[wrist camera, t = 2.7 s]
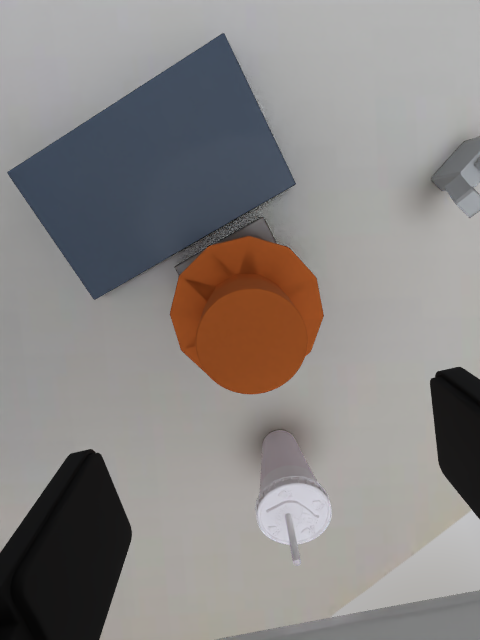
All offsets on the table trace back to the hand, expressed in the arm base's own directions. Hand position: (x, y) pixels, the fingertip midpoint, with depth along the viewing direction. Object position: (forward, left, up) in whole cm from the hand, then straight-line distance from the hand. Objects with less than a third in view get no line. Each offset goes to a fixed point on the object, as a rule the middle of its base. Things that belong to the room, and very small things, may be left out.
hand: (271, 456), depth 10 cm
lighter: (+20, 0, -26) cm, 33 cm away
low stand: (-2, +12, -25) cm, 28 cm away
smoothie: (-5, -17, -26) cm, 31 cm away
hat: (0, 0, -14) cm, 14 cm away
